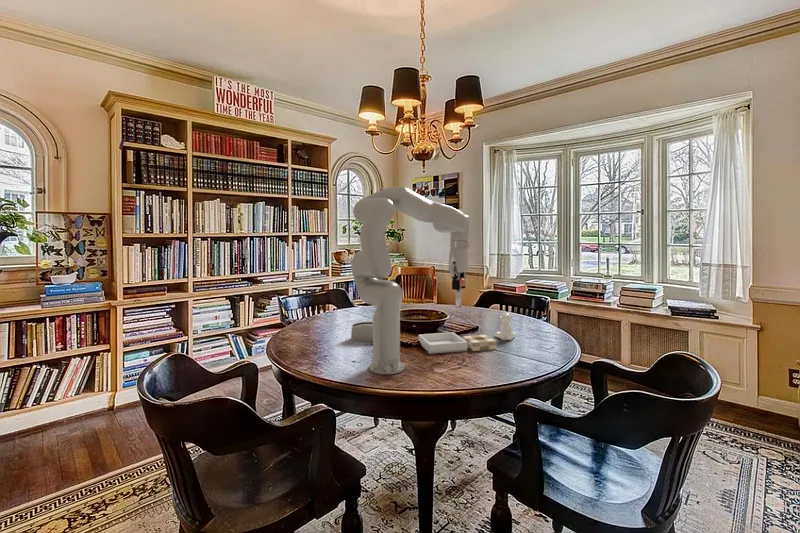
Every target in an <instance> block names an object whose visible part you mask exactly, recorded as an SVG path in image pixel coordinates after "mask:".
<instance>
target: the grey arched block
mask: <svg viewBox="0 0 800 533" xmlns="http://www.w3.org/2000/svg"><path fill="white" fill-rule="evenodd" d="M350 335H351V336H350V341H352V342H362V341H363V342H373V320H363V321H359V322H358V321H357V322H355V323H353V325H352V326H351V334H350Z"/></svg>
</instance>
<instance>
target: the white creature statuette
mask: <svg viewBox="0 0 800 533" xmlns="http://www.w3.org/2000/svg"><path fill="white" fill-rule="evenodd" d="M513 317H514V316H513V315H511V314H510V313H508V312H503V313H502V315H500V316H499V319H500V321H501V322H502V324H501V326H500V331H496V332H494V337H495V338H496V339H497V338H498V339H499V338H500V339H499V340H502V341H506V340H509V341H512V340H513V339H514V338H515V337H516V332H514V331H513V327H512V324H511V320H512V319H513Z"/></svg>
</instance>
